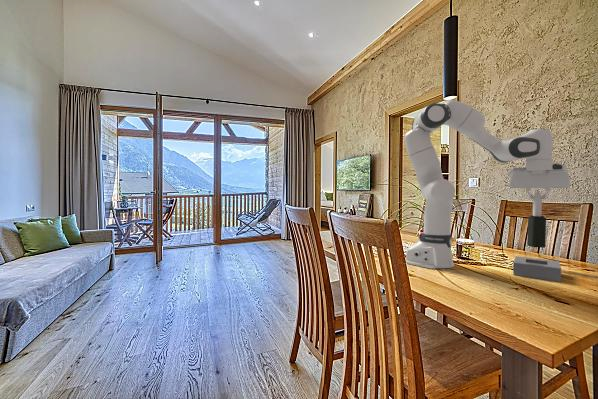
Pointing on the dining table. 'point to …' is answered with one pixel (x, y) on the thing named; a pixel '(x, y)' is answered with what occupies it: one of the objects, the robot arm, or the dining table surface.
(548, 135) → the robot arm
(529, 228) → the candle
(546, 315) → the dining table surface
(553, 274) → the holder
